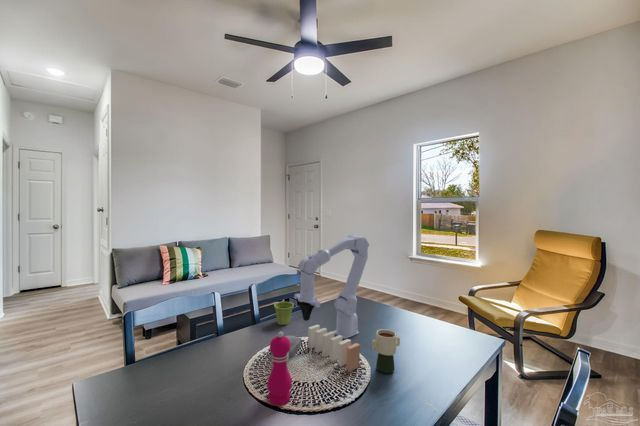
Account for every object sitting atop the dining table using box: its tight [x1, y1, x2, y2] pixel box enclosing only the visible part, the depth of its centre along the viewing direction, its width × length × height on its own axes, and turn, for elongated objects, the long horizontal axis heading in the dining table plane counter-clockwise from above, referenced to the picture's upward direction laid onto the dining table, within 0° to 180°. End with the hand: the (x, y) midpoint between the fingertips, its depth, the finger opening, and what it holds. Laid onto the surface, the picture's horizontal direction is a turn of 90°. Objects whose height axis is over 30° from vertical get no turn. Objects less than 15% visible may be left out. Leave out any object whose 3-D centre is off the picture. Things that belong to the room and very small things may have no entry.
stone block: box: [285, 335, 302, 359], centre depth 117 cm, size 12×5×10 cm
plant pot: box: [273, 301, 295, 326], centre depth 143 cm, size 9×9×9 cm
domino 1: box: [307, 324, 321, 350], centre depth 120 cm, size 5×2×8 cm, turn 132°
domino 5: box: [337, 338, 352, 367], centre depth 108 cm, size 5×2×8 cm, turn 132°
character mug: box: [371, 328, 401, 374], centre depth 104 cm, size 11×7×13 cm, turn 107°
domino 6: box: [345, 342, 361, 372], centre depth 104 cm, size 5×2×8 cm, turn 132°
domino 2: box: [314, 327, 328, 354], centre depth 117 cm, size 5×2×8 cm, turn 132°
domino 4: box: [329, 335, 344, 363], centre depth 111 cm, size 5×2×8 cm, turn 132°
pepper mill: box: [266, 331, 293, 406], centre depth 87 cm, size 7×7×20 cm
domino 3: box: [321, 331, 336, 358], centre depth 114 cm, size 5×2×8 cm, turn 132°
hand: (306, 319), depth 124 cm, fingers closed
